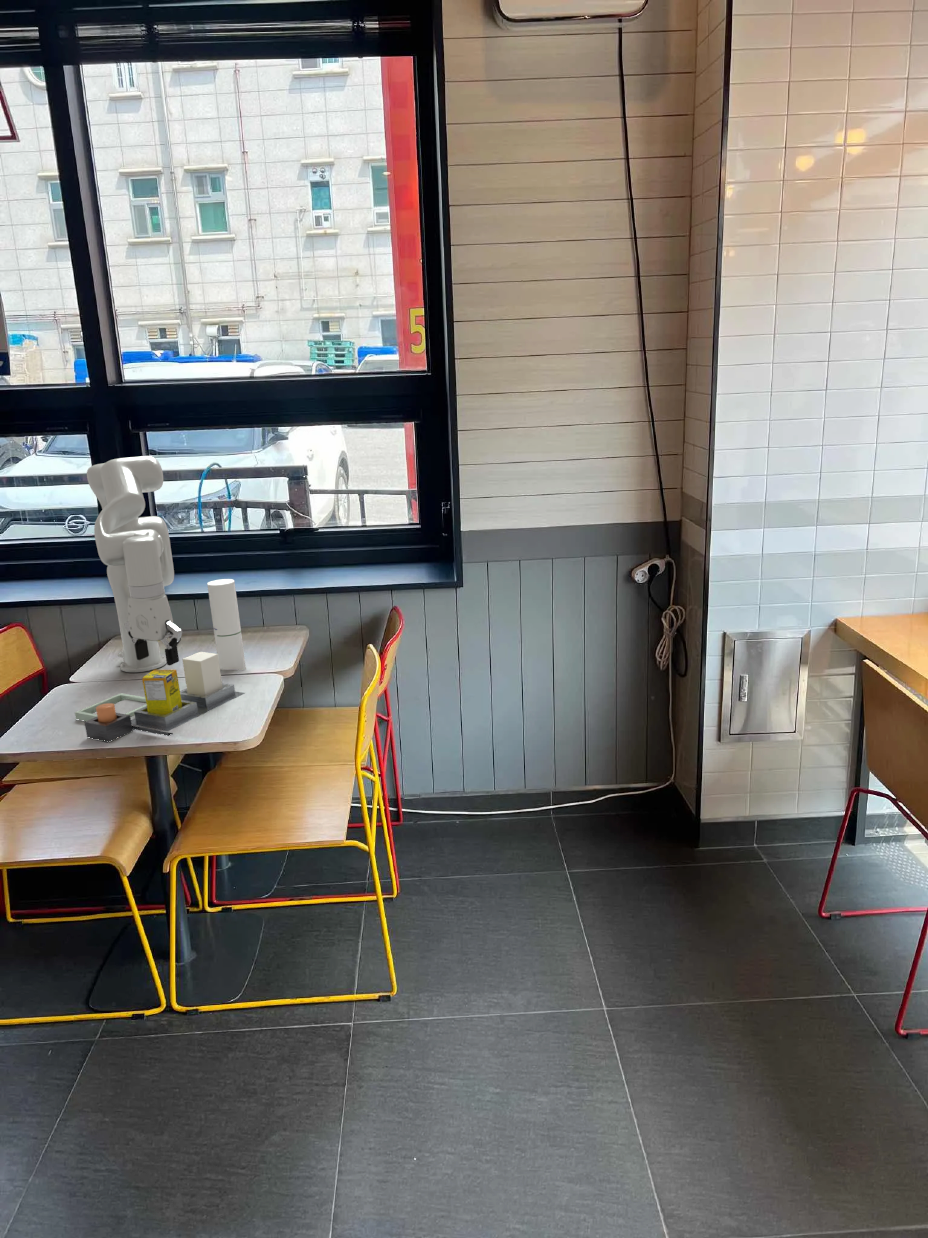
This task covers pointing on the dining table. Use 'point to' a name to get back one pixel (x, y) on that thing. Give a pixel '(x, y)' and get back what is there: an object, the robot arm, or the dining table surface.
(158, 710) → the supplement box
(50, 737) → the dining table surface
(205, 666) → the block
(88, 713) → the frame
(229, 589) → the cylindrical container
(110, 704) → the button
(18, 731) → the dining table surface
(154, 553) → the robot arm
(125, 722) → the button housing
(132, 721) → the grey open box
